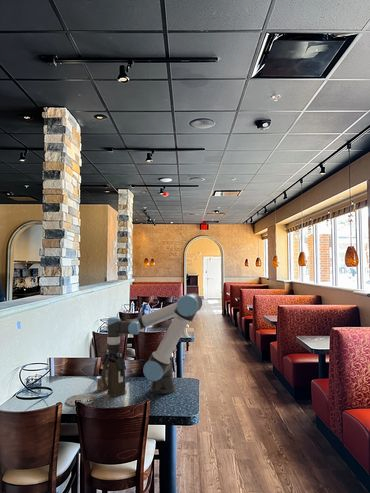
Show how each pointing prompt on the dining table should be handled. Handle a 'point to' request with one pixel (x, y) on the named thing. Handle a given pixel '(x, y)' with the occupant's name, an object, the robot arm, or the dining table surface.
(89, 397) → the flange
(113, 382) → the beer stein
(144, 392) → the dining table surface
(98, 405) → the dining table surface
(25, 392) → the dining table surface
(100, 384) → the menu block
